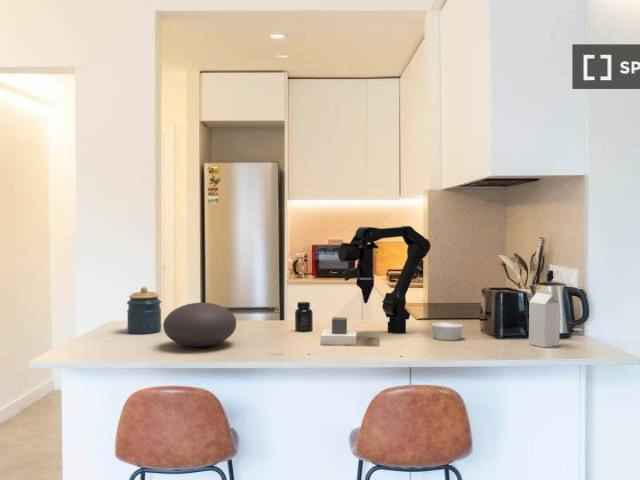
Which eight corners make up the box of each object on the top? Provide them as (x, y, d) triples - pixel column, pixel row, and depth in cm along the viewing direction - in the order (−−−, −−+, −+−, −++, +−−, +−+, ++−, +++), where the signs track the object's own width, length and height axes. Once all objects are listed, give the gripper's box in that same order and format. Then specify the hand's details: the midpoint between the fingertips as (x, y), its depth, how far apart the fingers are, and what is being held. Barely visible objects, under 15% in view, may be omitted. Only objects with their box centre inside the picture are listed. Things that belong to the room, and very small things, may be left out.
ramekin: (468, 338, 222) (468, 324, 222) (452, 342, 214) (452, 328, 214) (442, 334, 230) (442, 320, 230) (425, 338, 222) (425, 324, 221)
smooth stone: (158, 342, 215) (158, 300, 215) (226, 336, 225) (226, 297, 225) (169, 356, 193) (169, 309, 192) (245, 349, 203) (245, 305, 202)
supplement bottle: (315, 332, 234) (315, 301, 234) (308, 335, 228) (307, 303, 228) (299, 331, 237) (299, 300, 237) (291, 333, 231) (291, 302, 231)
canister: (120, 333, 233) (119, 288, 233) (141, 328, 245) (141, 284, 245) (147, 335, 228) (147, 289, 228) (168, 330, 240) (167, 286, 240)
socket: (357, 338, 217) (357, 329, 217) (355, 344, 205) (355, 336, 205) (323, 337, 218) (323, 329, 218) (320, 344, 206) (320, 335, 206)
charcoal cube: (347, 336, 214) (346, 317, 214) (346, 339, 209) (346, 319, 209) (332, 336, 214) (332, 317, 214) (331, 339, 209) (331, 319, 209)
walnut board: (379, 340, 218) (379, 337, 218) (379, 349, 202) (379, 346, 202) (324, 339, 220) (324, 336, 220) (320, 348, 204) (320, 345, 204)
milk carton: (544, 348, 204) (545, 292, 204) (528, 344, 210) (529, 290, 210) (559, 346, 207) (559, 291, 207) (543, 342, 214) (543, 289, 213)
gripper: (345, 259, 232) (345, 299, 232) (342, 262, 213) (342, 306, 214) (374, 259, 231) (374, 299, 231) (373, 262, 212) (373, 306, 213)
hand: (365, 303), depth 222 cm, fingers closed
